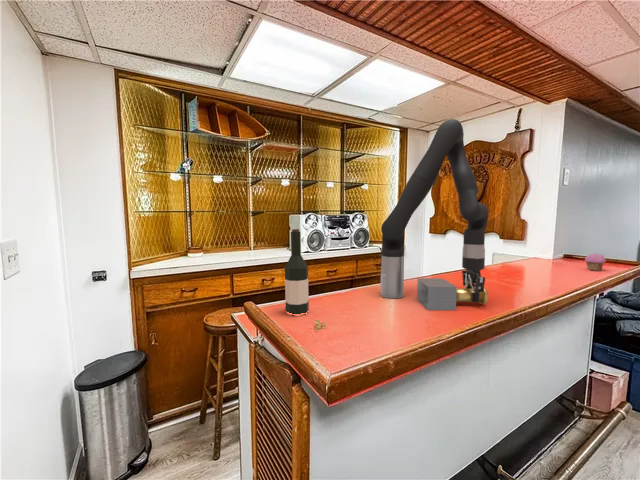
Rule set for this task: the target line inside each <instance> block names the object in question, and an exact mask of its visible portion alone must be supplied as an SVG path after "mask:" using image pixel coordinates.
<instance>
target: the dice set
mask: <svg viewBox="0 0 640 480" xmlns="http://www.w3.org/2000/svg"><path fill="white" fill-rule="evenodd" d="M319 323H320V325H319ZM315 325H316V330H321V331H322V328H321V327H325V326H326V327H327V324H326V323H325V322H321V320H320V319H315V322H314V326H315ZM318 325H319V326H318ZM316 330H315V331H316Z"/></svg>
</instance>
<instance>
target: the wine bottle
mask: <svg viewBox="0 0 640 480" xmlns="http://www.w3.org/2000/svg"><path fill="white" fill-rule="evenodd" d="M301 241H302V240H301V231H300V229H299V228H295V229H294V228H293V229H291V231H290V246H291V247H290V253H291V254H290V257H289V259H288V261H287V262H286V264H285V266H284V290H285V291H284V292H285V293H284V294H285V296H284V297H285V312H286V311H287V312H289V313H292V314H301V313H306V312H307V311H308V310H309V311H310V308H309V307H310V306H309V305H310V303H309V301H310V300H309V266H308V264H307V262H306V261H305V259H304V258H303V256H302V250H301V249H302V243H301Z"/></svg>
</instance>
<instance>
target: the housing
mask: <svg viewBox="0 0 640 480" xmlns="http://www.w3.org/2000/svg"><path fill="white" fill-rule="evenodd" d="M416 281H417V285H416V289H417V290H416V294H417V295H416V300H417V301H418V302H419V303H420V304H421V305H422V306H423V307H424V308H425V309H426V310H427V311H457V302H456V290H457V289H458V288H457V286H456V285H455V284H452V283H451V282H449V281H448V280H446V279H444V278H443V277H442V278H441V277H440V278H439V277H437V278H435V277H433V278H429V277H428V278H424V277H423V278H420V277H419V278H417V279H416Z"/></svg>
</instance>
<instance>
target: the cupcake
mask: <svg viewBox="0 0 640 480" xmlns="http://www.w3.org/2000/svg"><path fill="white" fill-rule="evenodd" d="M584 261H585V262H586V267H587V269H588V270H589V271H594V272H600V271H602V270H603V265H604V263H606V261H607V259H606V257H605V256H604V255H603V254H598V253H590V254H588V255H586V256H585V258H584Z"/></svg>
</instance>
